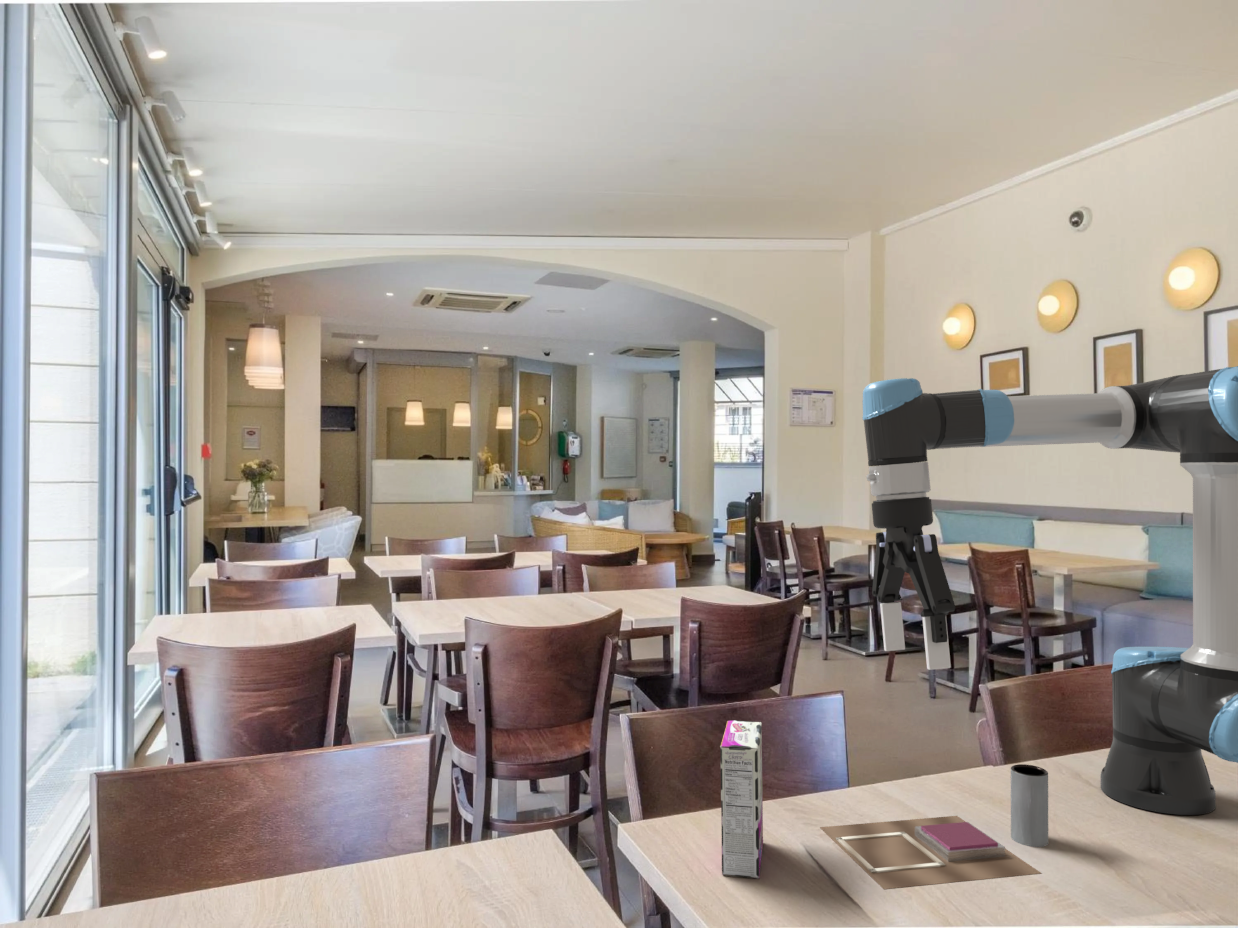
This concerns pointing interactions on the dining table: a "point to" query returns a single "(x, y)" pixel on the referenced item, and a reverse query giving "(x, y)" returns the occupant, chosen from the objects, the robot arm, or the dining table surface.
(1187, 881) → the dining table surface
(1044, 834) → the gray cylinder
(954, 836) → the ink pad
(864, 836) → the walnut board
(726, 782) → the candy bar box
